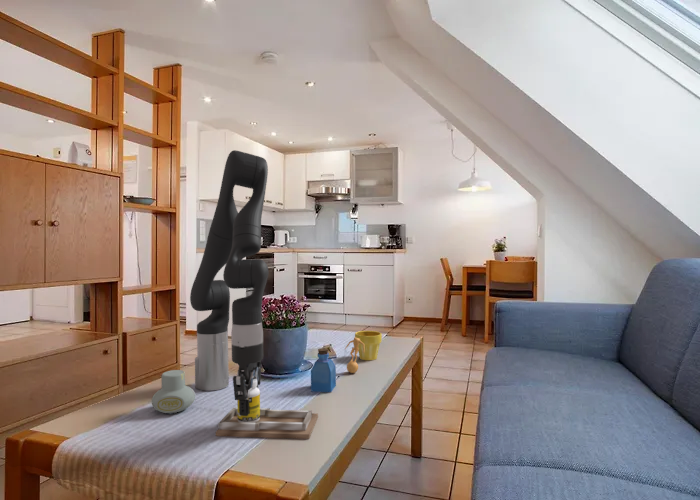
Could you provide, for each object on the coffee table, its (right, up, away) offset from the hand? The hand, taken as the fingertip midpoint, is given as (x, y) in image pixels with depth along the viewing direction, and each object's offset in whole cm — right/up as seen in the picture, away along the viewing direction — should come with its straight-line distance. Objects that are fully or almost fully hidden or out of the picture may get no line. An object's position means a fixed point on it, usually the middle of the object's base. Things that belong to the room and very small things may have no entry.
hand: (248, 409), depth 105 cm
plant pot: (+32, -3, +60) cm, 68 cm away
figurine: (+26, -3, +43) cm, 50 cm away
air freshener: (-23, -4, +11) cm, 26 cm away
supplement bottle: (0, -3, 0) cm, 3 cm away
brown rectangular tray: (+5, -4, 0) cm, 6 cm away
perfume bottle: (+17, -4, +27) cm, 32 cm away
